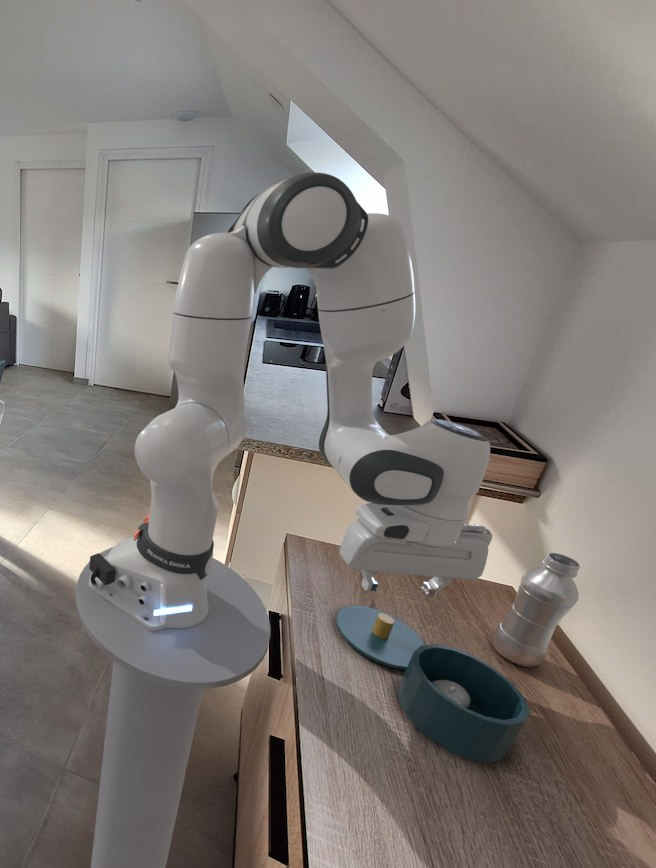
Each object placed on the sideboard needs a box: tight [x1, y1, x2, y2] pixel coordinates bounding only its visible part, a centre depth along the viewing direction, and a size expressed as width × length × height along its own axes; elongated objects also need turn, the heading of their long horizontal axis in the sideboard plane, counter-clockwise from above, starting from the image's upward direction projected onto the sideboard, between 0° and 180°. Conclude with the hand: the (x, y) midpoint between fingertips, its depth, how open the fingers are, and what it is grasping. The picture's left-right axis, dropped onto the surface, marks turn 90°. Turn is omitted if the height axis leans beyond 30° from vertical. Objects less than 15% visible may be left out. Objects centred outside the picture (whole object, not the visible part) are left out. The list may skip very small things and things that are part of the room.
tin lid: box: [335, 604, 426, 671], centre depth 79 cm, size 13×13×5 cm
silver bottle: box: [491, 552, 581, 668], centre depth 74 cm, size 6×7×20 cm
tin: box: [397, 643, 531, 764], centre depth 65 cm, size 12×12×8 cm
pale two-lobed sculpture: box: [431, 680, 470, 708], centre depth 66 cm, size 4×8×5 cm
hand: (397, 591), depth 76 cm, fingers open, 8 cm apart
